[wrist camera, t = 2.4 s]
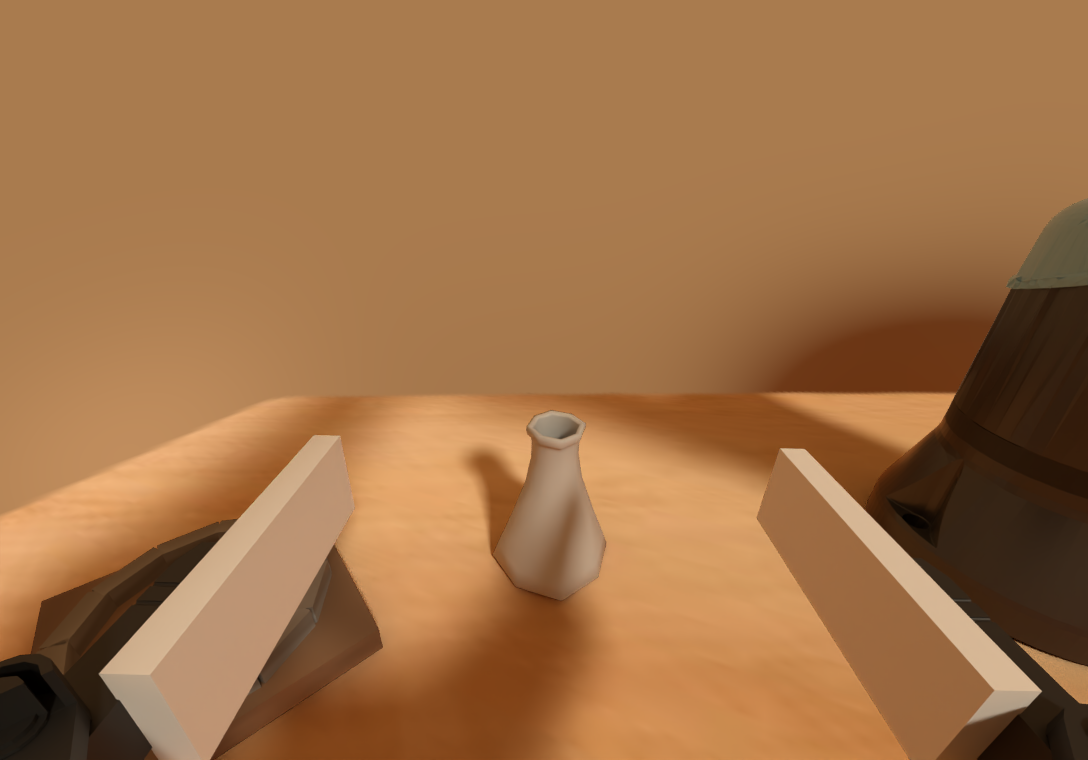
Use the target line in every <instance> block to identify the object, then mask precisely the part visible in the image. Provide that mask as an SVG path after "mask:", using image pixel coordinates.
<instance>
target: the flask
mask: <svg viewBox="0 0 1088 760" xmlns="http://www.w3.org/2000/svg"><path fill="white" fill-rule="evenodd" d="M585 427H586V423H584V422H583V421H581V420H580V419H579V418H577V417H576V416H574V415H573V414H570V413H565V412H559V411H554V410H550V411H547V412H544V413H541V414H538V415H535V416H534V417H533V418H532V420H531V421H530V423H529V424H528V426H527V429H526V431H527V434H528V435H529V436H530V437H531V439H532V451H531V460H530V464H529V468H528V473H527V477H526V481H525V484H524V486H523V488H522V491H521V493H520V495H519V498H518V500H517V502H516V505H515V507H514V509H513V512H512V514H511V516H510V518H509V521H508V523H507V525H506V527H505V529H504V531H503V533H502V535H501V537H500V540H499V542H498V544H497V546H496V548H495V551H494V553H493V556H494V557H495V559H496V560H497V561H498V563H499V564H500V566H501V567H502V568H503V570H504V571H505V572H506V574H507V575H508V577H509V578H510V579H511V581H512V582H513V584H514V585H515V586H516V587H518V588H521V589H525V590H528V591H531V592H534V593H537V594H541V595H544V596H547V597H550V598H554V599H557V600H560V601H562V600H564V599H565V598H567V597H568V596H570V595H572V594H573V593H575V592H576V591H578V590H579V589H581V588H582V587H584V586H585V585H587V584H589V583H590V582H592V581H593V580H595V579H596V578H598V576H599V572H600V568H601V563H602V559H603V555H604V551H605V547H606V540H605V538H604V535H603V532H602V530H601V527H600V525H599V522H598V520H597V517H596V515H595V512H594V510H593V507H592V504H591V502H590V499H589V496H588V493H587V490H586V487H585V484H584V481H583V479H582V474H581V467H580V460H579V441H580V439H581V437H582V435H583V432H584V430H585Z"/></svg>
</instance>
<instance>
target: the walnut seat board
mask: <svg viewBox="0 0 1088 760" xmlns="http://www.w3.org/2000/svg"><path fill="white" fill-rule="evenodd" d="M237 520H238V519H234V520H225V521H221V522H220V524H219V523H218V522H216V523H214V524H211V525H209V526H206V527H203V528H201V529H198V530H196V531H193V532H191V533H188V534H185V535H183V536H180V537H178V538H175V539H173V540H170V541H168V542H165V543H162V544H160V545H157V548H158V549H156V548H154V547H153V548H152V549H150V550H149V551H147V552H146V553H144V554H143V555H142V556H140V557H139V558H137V559H136V560H134V561H133V562H131V563H130V564H128V565H127V566H125V567H124V568H122V569H121V570H119V571H116V572H114V573H111V574H109V575H107V576H104V577H102V578H99V579H97V580H94V581H92V582H89V583H87V584H84V585H82V586H79V587H77V588H74V589H72V590H69V591H67V592H64V593H62V594H59V595H57V596H54V597H52V598H49V599H47V600H44V601H42V603H41V608H40V613H39V617H38V622H37V627H36V632H35V636H34V641H33V646H32V651H31V654H41V655H44V656H46V657H48V658H51V660H52V661H53V662H54V664H55V665H56V666H57V668H58V669H59V670H60V672H61V673H62V674H63V675H64V674H65V673H66V672H67V671H68V670H69V669H70V668H71V667H72V666H73V665H74V664H75V663H76V662H77V661H78V660H79V659H80V658H81V657H82V656H83V655H84V654H85V653H86V652H87V651H88V649H89V648H90V647H91V646H92V645H93V644H94V643H95V642H96V641H97V640H98V639H99V638H100V637H101V636H102V635H103V634H104V633H105V632H106V631H107V630H108V629H109V628H110V627H111V626H112V625H113V624H114V623H115V622H116V621H117V620H118V619H119V618H120V617H121V615H122V614H123V613H124V612H125V611H126V610H127V609H128V608H129V607H130V606H131V605H135V604H136V600H137V599H138V598H139V597H140V596H141V595H142V594H143V593H144V592H145V591H146V590H147V589H148V588H149V587H150V586H153V585H154V581H155V580H156V579H157V578H158V577H159V576H160V575H161V574H162V573H163V572H164V571H165V570H166V569H167V568H168V567H169V566H170V565H171V564H172V563H173V562H174V561H175V560H176V559H178V558H179V557H181V556H182V555H184V554H185V553H187V552H188V551H190V550H191V549H192V548H194V547H195V546H197V545H198V544H200V543H201V542H218V541H219V540H220V539H221V538H222V537H223V535H224V534H225V533H226V532H227V531H228V530H229V529H230V528H231V527H232V525H233V524H234V523H235V522H236V521H237ZM382 647H383V646H382V642H381V637H380V633H379V629H378V627H377V625H376V623H375V621H374V620H373V618H372V616H371V614H370V612H369V610H368V608H367V606H366V604H365V603H364V601H363V599H362V597H361V595H360V593H359V591H358V589H357V587H356V586H355V584H354V582H353V580H352V578H351V576H350V574H349V572H348V570H347V569H346V567H345V565H344V563H343V561H342V559H341V557H340V555H339V553H338V552H337V550H336V548H335V546H334V545H333V547H332V548H331V550H330V552H329V554H328V555H327V557H326V559H325V561H324V562H323V564H322V566H321V568H320V569H319V571H318V573H317V575H316V576H315V578H314V580H313V582H312V583H311V585H310V587H309V588H308V590H307V592H306V594H305V595H304V597H303V599H302V601H301V602H300V604H299V606H298V608H297V609H296V611H295V613H294V615H293V616H292V618H291V620H290V622H289V623H288V625H287V627H286V628H285V630H284V632H283V634H282V635H281V637H280V639H279V641H278V642H277V644H276V646H275V648H274V649H273V651H272V653H271V655H270V656H269V658H268V660H267V662H266V663H265V665H264V667H263V668H262V670H261V672H260V674H259V675H258V677H257V679H256V681H255V682H254V684H253V686H252V688H251V689H250V691H249V693H248V695H247V696H246V698H245V700H244V702H243V703H242V705H241V707H240V708H239V710H238V712H237V714H236V715H235V717H234V719H233V721H232V722H231V724H230V726H229V728H228V729H227V731H226V733H225V735H224V736H223V738H222V740H221V742H220V743H219V745H218V747H217V748H216V750H215V752H214V754H213V755H212V757H211V759H210V760H214V759H216V758H217V757H219V756H220V755H222V754H223V753H225V752H226V751H228V750H229V749H231V748H232V747H234V746H235V745H237V744H238V743H240V742H241V741H243V740H244V739H246V738H247V737H249V736H250V735H252V734H253V733H255V732H256V731H258V730H259V729H261V728H262V727H264V726H265V725H267V724H268V723H270V722H271V721H273V720H274V719H276V718H277V717H279V716H280V715H282V714H283V713H285V712H286V711H288V710H289V709H291V708H292V707H294V706H295V705H297V704H298V703H300V702H301V701H303V700H304V699H306V698H307V697H309V696H310V695H312V694H313V693H315V692H316V691H318V690H319V689H321V688H322V687H324V686H325V685H327V684H328V683H330V682H331V681H333V680H334V679H336V678H337V677H339V676H340V675H342V674H343V673H345V672H346V671H348V670H349V669H351V668H352V667H354V666H355V665H357V664H358V663H360V662H361V661H363V660H364V659H366V658H367V657H369V656H370V655H372V654H373V653H375V652H376V651H378V650H379V649H381V648H382ZM144 760H158V758H157V757H156V755H155V754H154V753H153V751H152V750H150V751H149V753H148V754H147V756H146V757H145V759H144Z"/></svg>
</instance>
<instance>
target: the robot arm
mask: <svg viewBox="0 0 1088 760" xmlns="http://www.w3.org/2000/svg"><path fill="white" fill-rule="evenodd" d="M1006 287H1009V288H1012V289H1011V290H1010V293H1009V294H1008V296H1007V298H1006V300H1005V302H1004V304H1003V306H1002V308H1001V310H1000V311H999V313H998V315H997V317H996V319H995V321H994V323H993V325H992V327H991V329H990V331H989V332H988V334H987V336H986V338H985V340H984V342H983V344H982V346H981V348H980V350H979V351H978V353H977V355H976V357H975V359H974V361H973V363H972V365H971V366H970V368H969V370H968V372H967V374H966V376H965V378H964V380H963V381H962V383H961V385H960V387H959V389H958V391H957V393H956V395H955V397H954V399H953V401H952V403H951V405H950V407H949V409H948V411H947V412H946V414H945V416H944V418H943V420H942V421H941V423H940V424H939V425H938V426H937V427H936V428H935V429H934V430H932V431H931V432H930V433H929V434H928V435H927V436H925V437H924V438H923V439H922V440H921V441H920V442H918V443H917V444H916V445H915V446H914V447H912V448H911V449H910V450H909V451H908V452H907V453H905V454H904V455H903V456H902V457H901V458H900V459H898V460H897V461H896V462H895V463H894V464H892V465H891V466H890V467H889V468H888V469H887V470H885V471H884V472H883V474H882V475H881V476H880V477H879V479H878V480H877V482H876V485H875V487H874V489H873V491H872V493H871V495H870V497H869V499H868V502H867V512H866V511H865V510H864V509H863V508H862V507H861V506H860V505H859V504H858V503H857V502H856V501H855V500H854V499H853V498H852V497H851V496H850V495H849V494H848V493H847V491H846V490H845V489H844V488H843V487H842V486H841V485H840V484H839V483H838V482H837V481H836V480H835V479H834V478H833V477H832V476H831V475H830V474H829V473H828V472H827V471H826V470H825V469H824V468H823V467H822V466H821V465H820V464H819V463H818V462H817V461H816V460H815V459H814V458H813V457H812V456H811V455H810V454H809V453H808V452H807V451H806V450H805V449H788V448H780V449H779V452H778V455H777V458H776V461H775V464H774V467H773V470H772V473H771V476H770V479H769V482H768V485H767V488H766V491H765V494H764V497H763V500H762V503H761V506H760V509H759V512H758V515H757V520H758V521H759V523H760V524H761V526H762V527H763V529H764V531H765V532H766V534H767V535H768V537H769V538H770V540H771V542H772V543H773V545H774V546H775V548H776V549H777V551H778V553H779V554H780V556H781V557H782V559H783V560H784V562H785V564H786V565H787V567H788V568H789V570H790V572H791V573H792V575H793V576H794V578H795V579H796V581H797V583H798V584H799V586H800V587H801V589H802V590H803V592H804V594H805V595H806V597H807V598H808V600H809V601H810V603H811V605H812V606H813V608H814V609H815V611H816V612H817V614H818V616H819V617H820V619H821V620H822V622H823V624H824V625H825V627H826V628H827V630H828V631H829V633H830V635H831V636H832V638H833V639H834V641H835V642H836V644H837V646H838V647H839V649H840V650H841V652H842V653H843V655H844V657H845V658H846V660H847V661H848V663H849V664H850V666H851V668H852V669H853V671H854V672H855V674H856V676H857V677H858V679H859V680H860V682H861V683H862V685H863V687H864V688H865V690H866V691H867V693H868V694H869V696H870V698H871V699H872V701H873V702H874V704H875V705H876V707H877V709H878V710H879V712H880V713H881V715H882V716H883V718H884V720H885V721H886V723H887V724H888V726H889V728H890V729H891V731H892V732H893V734H894V735H895V737H896V739H897V740H898V742H899V743H900V745H901V746H902V748H903V750H904V751H905V753H906V754H907V756H908V757H909V759H910V760H1088V704H1080V703H1078V702H1077V701H1076V700H1075V699H1074V698H1073V697H1072V696H1070V695H1069V694H1068V693H1067V692H1066V691H1065V690H1064V689H1063V688H1062V687H1061V686H1060V685H1059V684H1058V683H1057V682H1056V681H1055V680H1054V679H1053V678H1052V677H1051V676H1050V675H1049V674H1048V673H1047V672H1046V671H1045V670H1044V669H1043V668H1042V667H1041V666H1040V665H1039V664H1038V663H1037V662H1036V661H1034V660H1033V659H1032V658H1031V657H1030V656H1029V655H1028V654H1027V653H1026V652H1025V651H1024V650H1023V649H1022V648H1021V647H1020V646H1019V645H1018V644H1017V643H1016V642H1015V641H1014V640H1013V639H1012V638H1011V637H1013V638H1015V639H1017V640H1019V641H1022V642H1024V643H1026V644H1028V645H1031V646H1033V647H1035V648H1038V649H1040V650H1043V651H1045V652H1048V653H1050V654H1053V655H1056V656H1059V657H1061V658H1064V659H1067V660H1070V661H1073V662H1076V663H1080V664H1083V665H1087V666H1088V199H1084V200H1082V201H1080V202H1077V203H1075V204H1073V205H1071V206H1069V207H1067V208H1065V209H1064V210H1062V211H1061V212H1059V213H1058V214H1057V215H1056V216H1054V217H1053V218H1052V220H1050V221H1049V222H1048V224H1047V225H1046V227H1045V228H1044V230H1043V231H1042V233H1041V234H1040V236H1039V238H1038V239H1037V241H1036V243H1035V245H1034V246H1033V248H1032V250H1031V251H1030V253H1029V255H1028V256H1027V258H1026V260H1025V261H1024V263H1023V265H1022V266H1021V268H1020V270H1019V272H1018V273H1017V275H1014V276H1012V277H1011V278H1010V279H1009V281H1008V284H1007V286H1006ZM354 508H355V506H354V501H353V496H352V491H351V486H350V481H349V476H348V471H347V466H346V462H345V457H344V452H343V447H342V442H341V437H340V436H334V435H314V436H313V437H312V438H311V439H310V440H309V441H308V442H307V443H306V444H305V446H304V447H303V448H302V449H301V450H300V451H299V452H298V453H297V454H296V456H295V457H294V458H293V459H292V460H291V461H290V462H289V463H288V464H287V466H286V467H285V468H284V469H283V470H282V471H281V472H280V473H279V474H278V476H277V477H276V478H275V479H274V480H273V481H272V482H271V483H270V484H269V486H268V487H267V488H266V489H265V490H264V491H263V492H262V493H261V494H260V495H259V497H258V498H257V499H256V500H255V501H254V502H253V503H252V504H251V505H250V507H249V508H248V509H247V510H246V511H245V512H244V513H243V514H242V515H241V517H240V518H239V519H238V520H237V521H236V522H235V523H234V524H233V525H232V527H231V528H230V529H229V530H228V531H227V532H226V533H225V534H224V535H223V537H222V538H221V539H220V540H219V541H218V542H201V543H200V544H198V545H197V546H195V547H194V548H192V549H191V550H190V551H188V552H187V553H185V554H184V555H182V556H181V557H179V558H178V559H176V560H175V561H174V562H173V563H172V564H171V565H170V566H169V567H168V568H167V569H166V570H165V571H164V572H163V573H162V574H161V575H160V576H159V577H158V578H157V579H156V580H155V581H154V585H153V586H150V587H149V588H148V589H147V590H146V591H145V592H144V593H143V594H142V595H141V596H140V597H139V598H138V599H137V600H136V604H135V605H131V606H130V607H129V608H128V609H127V610H126V611H125V612H124V613H123V614H122V615H121V617H120V618H119V619H118V620H117V621H116V622H115V623H114V624H113V625H112V626H111V627H110V628H109V629H108V630H107V631H106V632H105V633H104V634H103V635H102V636H101V637H100V638H99V639H98V640H97V641H96V642H95V643H94V644H93V645H92V646H91V647H90V648H89V649H88V651H87V652H86V653H85V654H84V655H83V656H82V657H81V658H80V659H79V660H78V661H77V662H76V663H75V664H74V665H73V666H72V667H71V668H70V669H69V670H68V671H67V672H66V673H65V674H64V675H63V674H62V673H61V672H60V670H59V669H58V668H57V666H56V665H55V664H54V662H53V661H52V660H51V658H48V657H46V656H44V655H41V654H28V655H19V656H16V657H13V658H10V659H7V660H4V661H1V662H0V760H144V759H145V757H146V756H147V754H148V753H149V751H150V750H152V751H153V753H154V754H155V755H156V757H157V758H158V760H210V759H211V757H212V755H213V754H214V752H215V750H216V748H217V747H218V745H219V743H220V742H221V740H222V738H223V736H224V735H225V733H226V731H227V729H228V728H229V726H230V724H231V722H232V721H233V719H234V717H235V715H236V714H237V712H238V710H239V708H240V707H241V705H242V703H243V702H244V700H245V698H246V696H247V695H248V693H249V691H250V689H251V688H252V686H253V684H254V682H255V681H256V679H257V677H258V675H259V674H260V672H261V670H262V668H263V667H264V665H265V663H266V662H267V660H268V658H269V656H270V655H271V653H272V651H273V649H274V648H275V646H276V644H277V642H278V641H279V639H280V637H281V635H282V634H283V632H284V630H285V628H286V627H287V625H288V623H289V622H290V620H291V618H292V616H293V615H294V613H295V611H296V609H297V608H298V606H299V604H300V602H301V601H302V599H303V597H304V595H305V594H306V592H307V590H308V588H309V587H310V585H311V583H312V582H313V580H314V578H315V576H316V575H317V573H318V571H319V569H320V568H321V566H322V564H323V562H324V561H325V559H326V557H327V555H328V554H329V552H330V550H331V548H332V547H333V545H334V543H335V542H336V540H337V538H338V536H339V535H340V533H341V531H342V529H343V528H344V526H345V524H346V522H347V521H348V519H349V517H350V515H351V514H352V512H353V510H354ZM1010 636H1011V637H1010Z"/></svg>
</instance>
